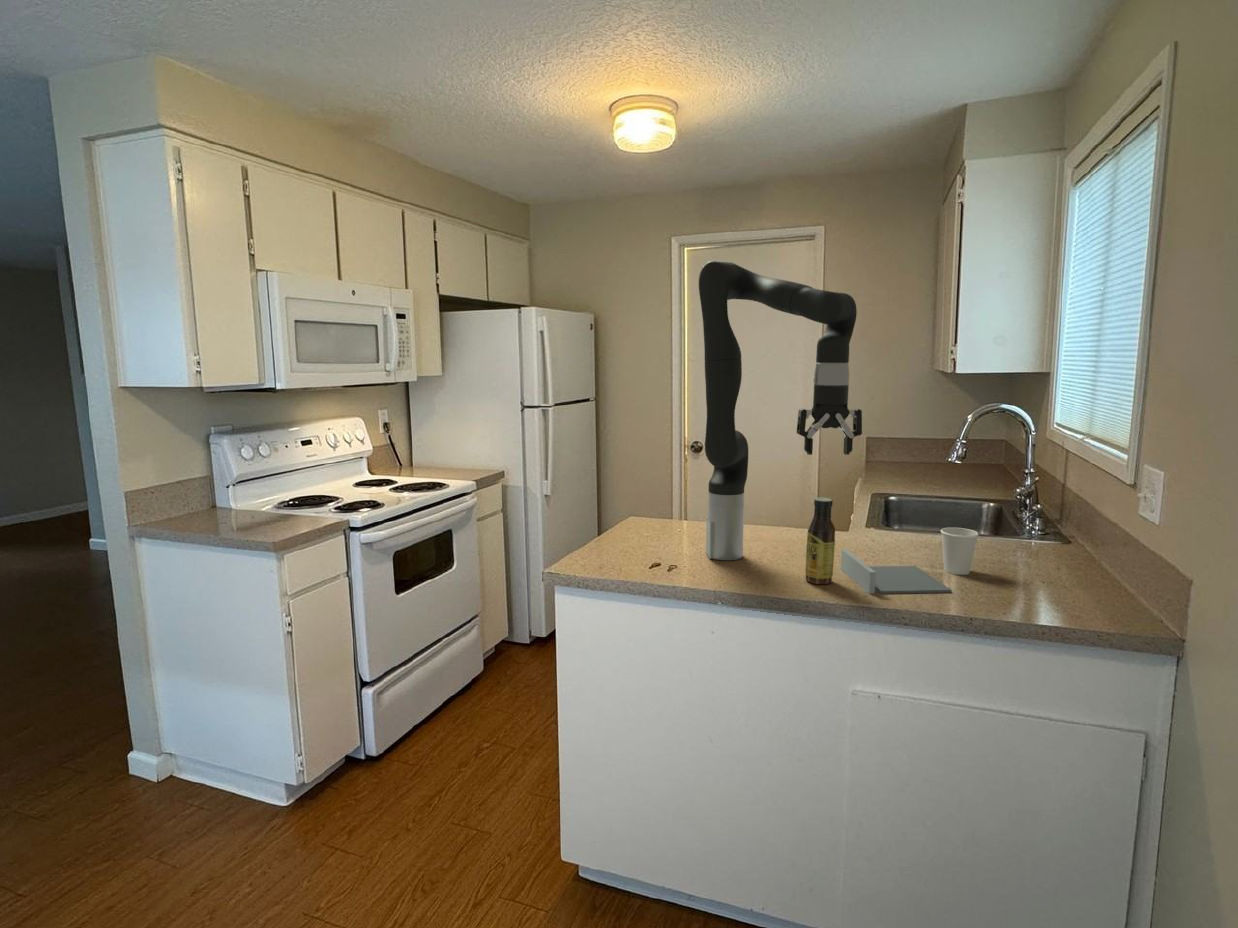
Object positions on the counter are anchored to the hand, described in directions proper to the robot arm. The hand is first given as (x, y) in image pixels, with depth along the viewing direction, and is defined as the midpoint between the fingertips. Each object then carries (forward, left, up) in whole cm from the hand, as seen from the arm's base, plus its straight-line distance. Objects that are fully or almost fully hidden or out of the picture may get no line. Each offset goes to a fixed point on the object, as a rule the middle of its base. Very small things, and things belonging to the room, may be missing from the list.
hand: (828, 454), depth 162 cm
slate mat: (+18, -1, -30) cm, 35 cm away
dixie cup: (+35, +5, -30) cm, 46 cm away
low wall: (+8, -1, -30) cm, 31 cm away
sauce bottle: (-1, -1, -30) cm, 30 cm away
